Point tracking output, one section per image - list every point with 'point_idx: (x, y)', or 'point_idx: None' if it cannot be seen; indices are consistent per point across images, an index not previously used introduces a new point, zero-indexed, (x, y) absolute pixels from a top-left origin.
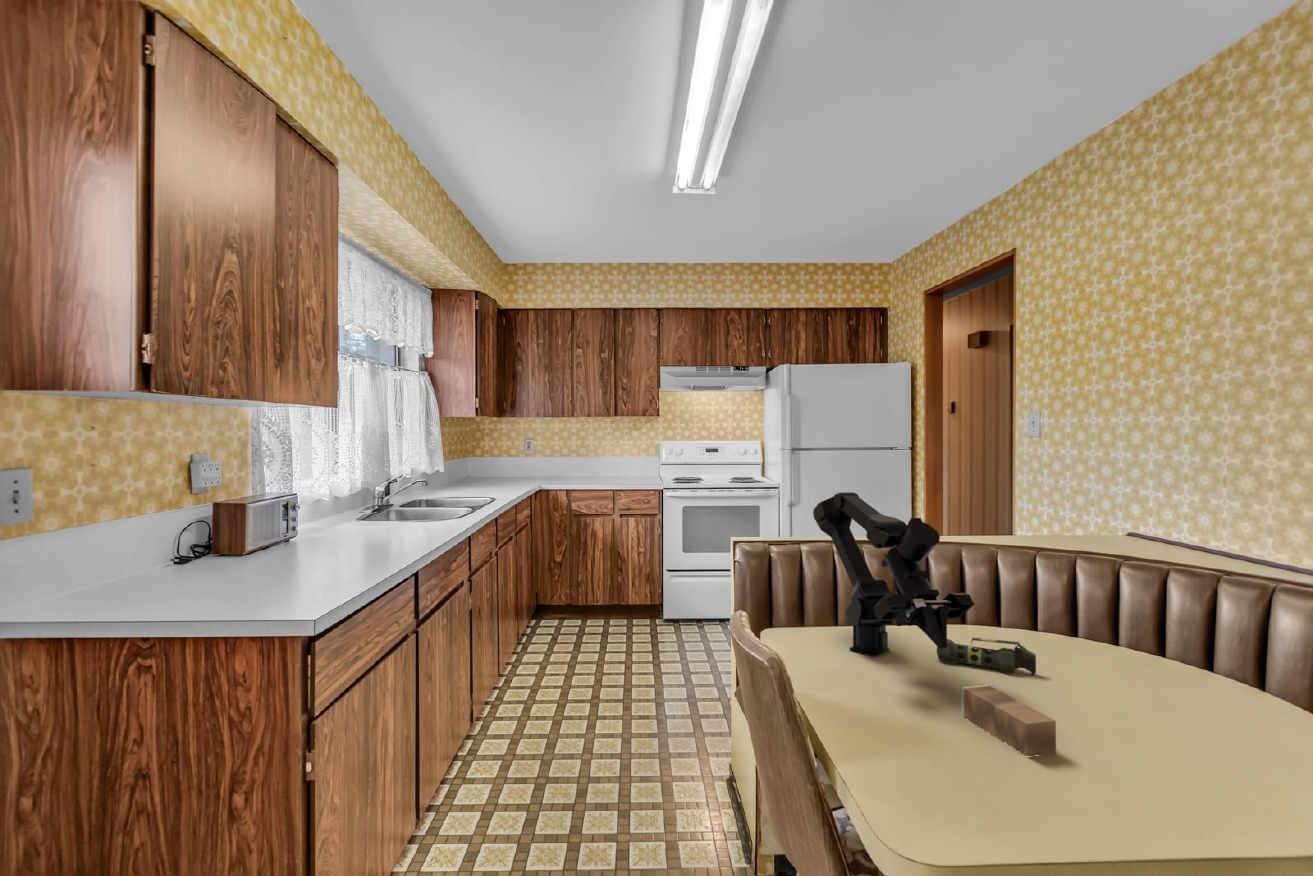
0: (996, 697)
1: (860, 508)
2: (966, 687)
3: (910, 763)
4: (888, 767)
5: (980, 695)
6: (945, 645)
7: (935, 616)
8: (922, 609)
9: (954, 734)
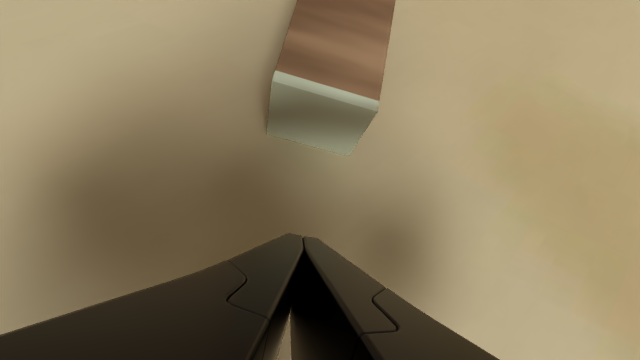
0: (342, 17)
1: None
2: (364, 100)
3: (590, 84)
4: (631, 94)
5: (375, 46)
6: (298, 236)
7: (370, 342)
8: None
9: (440, 108)
